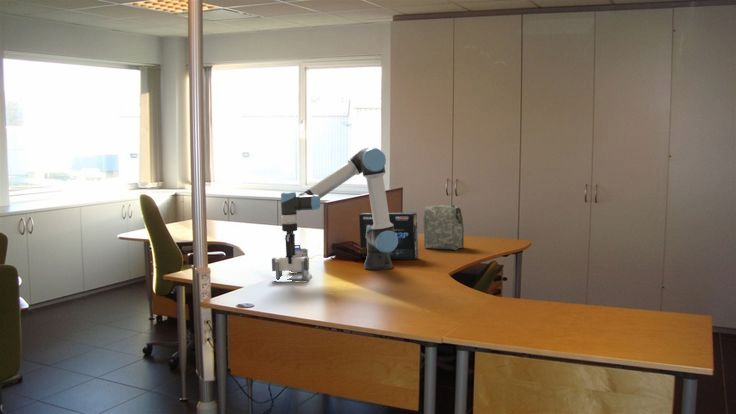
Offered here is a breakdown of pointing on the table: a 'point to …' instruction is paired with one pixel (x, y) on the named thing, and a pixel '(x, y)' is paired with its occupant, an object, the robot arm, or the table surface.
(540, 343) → the table surface
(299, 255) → the ink cartridge box
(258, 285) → the table surface
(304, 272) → the bracket
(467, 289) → the table surface
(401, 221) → the box
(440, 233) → the bag
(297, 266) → the strip bar
